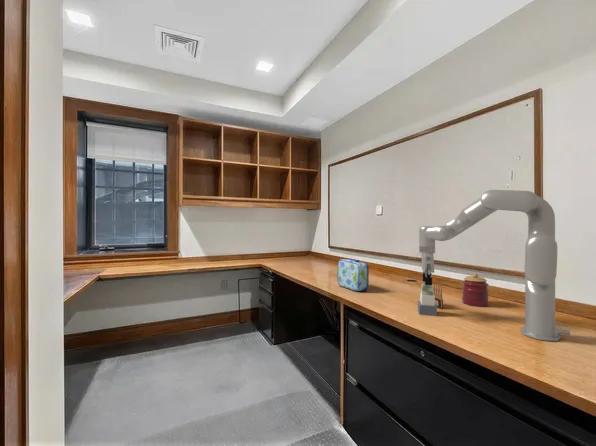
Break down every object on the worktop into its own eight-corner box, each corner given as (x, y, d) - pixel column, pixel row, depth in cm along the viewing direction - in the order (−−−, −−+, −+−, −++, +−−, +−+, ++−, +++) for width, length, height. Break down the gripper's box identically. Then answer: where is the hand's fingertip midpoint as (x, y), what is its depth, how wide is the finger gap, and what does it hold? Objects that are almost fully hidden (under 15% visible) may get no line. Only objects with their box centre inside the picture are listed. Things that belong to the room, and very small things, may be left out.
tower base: (434, 311, 149) (434, 302, 149) (436, 316, 142) (436, 306, 142) (417, 310, 152) (417, 301, 152) (419, 315, 144) (419, 305, 144)
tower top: (432, 302, 149) (432, 293, 149) (434, 305, 143) (434, 295, 143) (420, 301, 150) (420, 292, 151) (421, 304, 145) (421, 295, 145)
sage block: (431, 293, 148) (431, 283, 148) (432, 295, 143) (432, 285, 143) (421, 292, 150) (421, 283, 150) (422, 294, 145) (422, 285, 145)
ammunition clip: (443, 308, 154) (443, 286, 154) (440, 309, 153) (440, 287, 153) (429, 303, 164) (429, 282, 164) (427, 303, 164) (427, 282, 164)
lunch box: (371, 291, 191) (371, 260, 191) (358, 293, 186) (358, 261, 186) (347, 284, 215) (347, 256, 215) (335, 285, 210) (336, 257, 210)
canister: (473, 300, 172) (473, 271, 172) (494, 305, 160) (494, 274, 160) (456, 301, 168) (457, 272, 168) (476, 307, 156) (476, 275, 156)
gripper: (437, 251, 137) (438, 287, 137) (432, 248, 153) (432, 280, 153) (421, 251, 139) (421, 286, 139) (417, 248, 156) (417, 279, 156)
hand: (427, 283), depth 146 cm, fingers open, 9 cm apart
